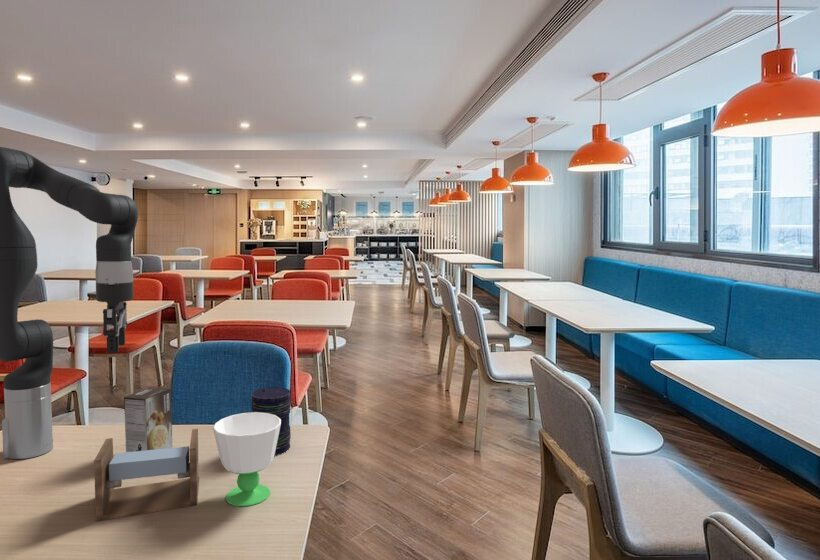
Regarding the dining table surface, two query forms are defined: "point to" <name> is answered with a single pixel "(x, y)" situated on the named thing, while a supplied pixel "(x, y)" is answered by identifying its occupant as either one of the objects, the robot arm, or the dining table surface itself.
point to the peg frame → (143, 488)
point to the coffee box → (148, 419)
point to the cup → (247, 452)
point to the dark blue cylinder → (275, 411)
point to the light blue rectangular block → (149, 463)
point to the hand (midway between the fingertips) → (116, 349)
